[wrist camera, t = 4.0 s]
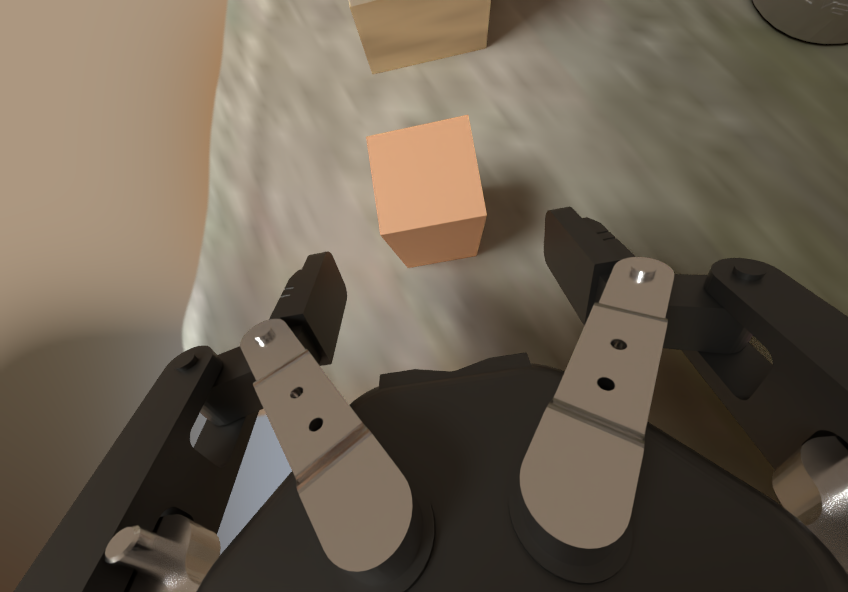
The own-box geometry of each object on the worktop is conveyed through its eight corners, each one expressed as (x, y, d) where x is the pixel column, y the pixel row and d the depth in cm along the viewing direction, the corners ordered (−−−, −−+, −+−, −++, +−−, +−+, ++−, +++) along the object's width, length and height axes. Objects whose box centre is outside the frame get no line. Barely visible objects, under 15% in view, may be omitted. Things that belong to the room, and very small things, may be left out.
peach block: (397, 202, 22) (366, 136, 14) (464, 189, 21) (468, 114, 14) (407, 267, 21) (380, 235, 14) (476, 255, 21) (486, 215, 13)
